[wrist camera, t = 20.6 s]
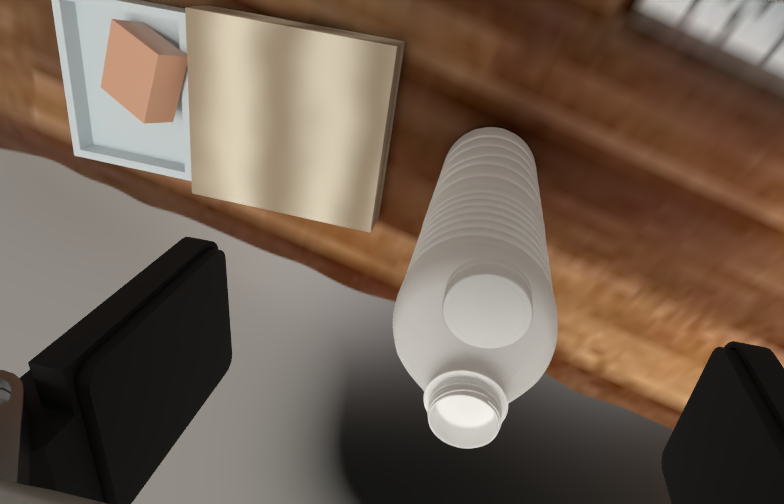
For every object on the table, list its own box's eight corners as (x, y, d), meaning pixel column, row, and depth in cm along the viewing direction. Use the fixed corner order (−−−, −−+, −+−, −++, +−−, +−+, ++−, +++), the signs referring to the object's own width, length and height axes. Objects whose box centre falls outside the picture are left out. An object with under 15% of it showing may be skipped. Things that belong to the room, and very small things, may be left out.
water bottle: (525, 218, 39) (545, 517, 18) (438, 204, 40) (355, 473, 18) (552, 99, 35) (623, 297, 13) (455, 86, 36) (373, 253, 14)
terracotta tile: (189, 56, 36) (158, 54, 34) (173, 121, 39) (143, 123, 37) (143, 22, 38) (111, 18, 36) (131, 87, 40) (100, 87, 38)
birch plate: (405, 41, 35) (397, 46, 33) (378, 216, 42) (370, 232, 39) (208, 5, 37) (185, 7, 34) (211, 180, 43) (192, 193, 40)
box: (201, 11, 37) (186, 13, 35) (205, 173, 43) (192, 181, 41) (70, -13, 38) (49, -13, 36) (91, 148, 44) (74, 155, 42)
